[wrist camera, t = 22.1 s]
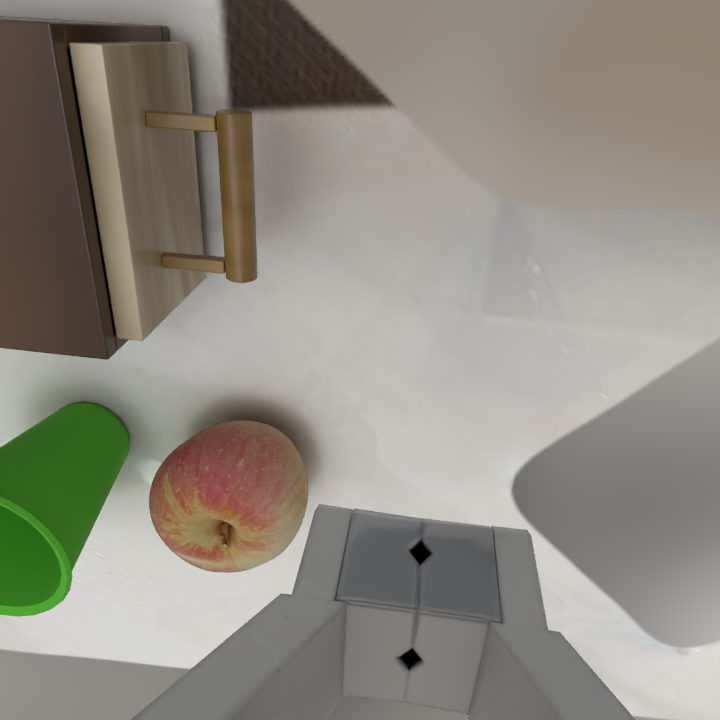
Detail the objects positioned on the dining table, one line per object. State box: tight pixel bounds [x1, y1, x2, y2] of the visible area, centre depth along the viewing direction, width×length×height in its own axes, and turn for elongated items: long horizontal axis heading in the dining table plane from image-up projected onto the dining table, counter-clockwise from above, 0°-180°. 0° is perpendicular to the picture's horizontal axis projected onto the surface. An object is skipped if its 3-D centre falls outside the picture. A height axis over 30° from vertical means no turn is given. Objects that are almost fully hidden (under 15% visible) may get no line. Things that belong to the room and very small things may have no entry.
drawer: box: [67, 41, 257, 341], centre depth 27 cm, size 19×11×8 cm, turn 87°
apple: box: [149, 420, 308, 572], centre depth 36 cm, size 9×9×8 cm
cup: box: [0, 403, 129, 616], centre depth 35 cm, size 9×9×11 cm
